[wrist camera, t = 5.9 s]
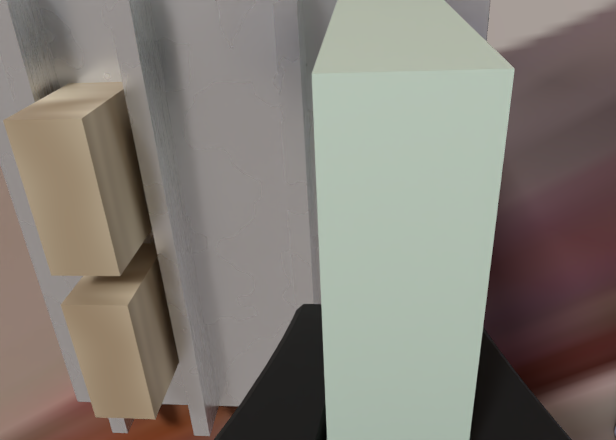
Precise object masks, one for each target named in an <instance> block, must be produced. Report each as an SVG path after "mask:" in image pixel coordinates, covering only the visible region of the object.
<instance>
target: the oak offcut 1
mask: <svg viewBox="0 0 616 440" xmlns="http://www.w3.org/2000/svg"><path fill="white" fill-rule="evenodd" d="M3 122H4V125H5V129H6V132H7V135H8V138H9V141H10V145H11V148H12V151H13V154H14V157H15V161H16V164H17V167H18V170H19V173H20V177H21V180H22V183H23V186H24V189H25V193H26V196H27V199H28V202H29V205H30V209H31V212H32V215H33V218H34V221H35V225H36V228H37V231H38V234H39V237H40V241H41V244H42V247H43V250H44V253H45V256H46V260H47V263H48V266H49V269H50V272H51V276H121V274H122V273H123V271H124V270H125V268H126V267H127V265H128V264H129V262H130V261H131V260H132V258H133V257H134V255H135V254H136V252H137V251H138V249H139V248H140V246H141V245H142V243H143V242H144V240H145V239H146V238H147V236H148V235H149V233H150V232H151V230H152V226H151V221H150V216H149V211H148V206H147V201H146V197H145V192H144V187H143V182H142V177H141V172H140V167H139V162H138V157H137V153H136V148H135V143H134V138H133V133H132V128H131V123H130V118H129V113H128V109H127V104H126V99H125V94H124V89H123V84H122V82H96V83H69V84H67V85H65V86H63V87H62V88H60V89H58V90H56V91H54V92H53V93H51V94H49V95H47V96H45V97H44V98H42V99H40V100H38V101H37V102H35V103H33V104H31V105H29V106H28V107H26V108H24V109H22V110H20V111H19V112H17V113H15V114H13V115H12V116H10V117H8V118H6V119H4V120H3Z"/></svg>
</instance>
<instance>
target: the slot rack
mask: <svg viewBox="0 0 616 440" xmlns="http://www.w3.org/2000/svg"><path fill="white" fill-rule="evenodd" d="M445 1H446V2H447V3H448V4H449V5H450V6H451V7H452V8H453V9H454V10H455V11H456V12H457V13H458V14H459V15H460V16H461V17H462V18H463V19H464V20H465V21H466V22H467V23H468V24H469V25H470V26H471V27H472V28H473V29H474V30H475V31H476V32H477V33H478V34H479V35H480V36H482V37H483V38H484V39H485V40H486V41H487V31H488V20H489V8H490V0H445ZM336 3H337V0H0V165H1V168H2V171H3V174H4V178H5V181H6V184H7V187H8V190H9V193H10V196H11V199H12V202H13V205H14V208H15V211H16V214H17V217H18V220H19V223H20V226H21V229H22V232H23V236H24V239H25V242H26V245H27V248H28V251H29V254H30V257H31V260H32V263H33V266H34V269H35V272H36V275H37V278H38V281H39V284H40V287H41V290H42V294H43V297H44V300H45V303H46V306H47V309H48V312H49V315H50V318H51V321H52V324H53V327H54V330H55V333H56V336H57V339H58V342H59V345H60V349H61V352H62V355H63V358H64V361H65V364H66V367H67V370H68V373H69V376H70V379H71V382H72V385H73V388H74V391H75V394H76V397H77V400H78V401H79V402H91V400H90V397H89V394H88V391H87V388H86V384H85V381H84V378H83V375H82V372H81V368H80V365H79V362H78V359H77V356H76V352H75V349H74V346H73V343H72V340H71V336H70V333H69V330H68V327H67V324H66V320H65V317H64V314H63V311H62V308H61V304H62V302H63V301H64V300H65V298H66V297H67V296H68V295H69V293H70V292H71V291H72V290H73V288H74V287H75V286H76V284H77V283H78V282H79V281H80V279H81V278H82V277H83V276H51V272H50V269H49V266H48V263H47V260H46V256H45V253H44V250H43V247H42V244H41V241H40V237H39V234H38V231H37V228H36V225H35V221H34V218H33V215H32V212H31V209H30V205H29V202H28V199H27V196H26V193H25V189H24V186H23V183H22V180H21V177H20V173H19V170H18V167H17V164H16V161H15V157H14V154H13V151H12V148H11V145H10V141H9V138H8V135H7V132H6V129H5V125H4V122H3V120H4V119H6V118H8V117H10V116H12V115H13V114H15V113H17V112H19V111H20V110H22V109H24V108H26V107H28V106H29V105H31V104H33V103H35V102H37V101H38V100H40V99H42V98H44V97H45V96H47V95H49V94H51V93H53V92H54V91H56V90H58V89H60V88H62V87H63V86H65V85H67V84H69V83H96V82H122V84H123V89H124V94H125V99H126V104H127V109H128V113H129V118H130V123H131V128H132V133H133V138H134V143H135V148H136V153H137V157H138V162H139V167H140V172H141V177H142V182H143V187H144V192H145V197H146V201H147V206H148V211H149V216H150V221H151V226H152V230H151V232H150V233H149V235H148V236H147V238H146V239H145V240H144V242H143V243H155V246H156V250H157V255H158V260H159V265H160V270H161V275H162V280H163V285H164V290H165V294H166V299H167V304H168V309H169V314H170V319H171V324H172V329H173V334H174V338H175V343H176V348H177V353H178V358H179V364H178V366H177V368H176V371H175V373H174V376H173V378H172V380H171V383H170V385H169V388H168V390H167V392H166V395H165V397H164V400H163V402H162V404H178V405H188V407H189V412H190V417H191V422H192V427H193V431H194V435H197V436H210V434H211V431H212V427H213V424H214V420H215V417H216V414H217V410H218V407H219V406H239V405H240V404H241V402H242V401H243V399H244V398H245V396H246V395H247V393H248V392H249V390H250V389H251V387H252V386H253V384H254V383H255V381H256V380H257V378H258V377H259V375H260V374H261V372H262V371H263V369H264V368H265V366H266V364H267V363H268V361H269V359H270V358H271V356H272V354H273V353H274V351H275V349H276V348H277V346H278V344H279V343H280V341H281V339H282V337H283V336H284V334H285V332H286V330H287V328H288V326H289V324H290V322H291V320H292V318H293V316H294V314H295V312H296V310H297V309H298V308H299V307H300V306H302V305H303V304H321V285H320V261H319V237H318V214H317V190H316V166H315V142H314V119H313V95H312V71H313V68H314V65H315V63H316V60H317V57H318V54H319V51H320V48H321V46H322V43H323V40H324V37H325V34H326V31H327V28H328V26H329V23H330V20H331V17H332V14H333V11H334V8H335V6H336ZM133 421H134V419H133V418H109V422H110V425H111V428H112V432H113V433H128V432H129V429H130V427H131V425H132V423H133Z"/></svg>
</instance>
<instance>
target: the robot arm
mask: <svg viewBox="0 0 616 440" xmlns="http://www.w3.org/2000/svg"><path fill="white" fill-rule="evenodd" d="M614 434H615V436H616V427H615V430H614ZM214 440H327V427H326V403H325V379H324V356H323V332H322V308H321V304H303V305H302V306H300V307H299V308H298V309H297V310H296V312H295V314H294V316H293V318H292V320H291V322H290V324H289V326H288V328H287V330H286V332H285V334H284V336H283V337H282V339H281V341H280V343H279V344H278V346H277V348H276V349H275V351H274V353H273V354H272V356H271V358H270V359H269V361H268V363H267V364H266V366H265V368H264V369H263V371H262V372H261V374H260V375H259V377H258V378H257V380H256V381H255V383H254V384H253V386H252V387H251V389H250V390H249V392H248V393H247V395H246V396H245V398H244V399H243V401H242V402H241V404H240V405H239V406H238V408H237V409H236V411H235V412H234V414H233V415H232V416H231V418H230V419H229V420H228V422H227V423H226V424H225V426H224V427H223V428H222V430H221V431H220V432H219V434H218V435H217V436H216V438H215V439H214ZM469 440H571V438H570V437H569V436H568V435H567V434H566V433H565V431H564V430H563V429H562V428H561V427H560V426H559V424H558V423H557V422H556V421H555V420H554V418H553V417H552V416H551V415H550V414H549V412H548V411H547V410H546V409H545V407H544V406H543V405H542V404H541V403H540V401H539V400H538V399H537V398H536V397H535V395H534V394H533V393H532V392H531V390H530V389H529V388H528V387H527V385H526V384H525V383H524V382H523V380H522V379H521V378H520V377H519V375H518V374H517V373H516V371H515V370H514V369H513V367H512V366H511V365H510V363H509V362H508V361H507V359H506V358H505V357H504V355H503V354H502V353H501V351H500V350H499V349H498V347H497V346H496V344H495V343H494V342H493V340H492V339H491V338H490V336H489V335H488V333H487V332H486V330H485V329H484V327H483V332H482V340H481V348H480V357H479V365H478V373H477V381H476V390H475V398H474V406H473V414H472V422H471V431H470V439H469Z"/></svg>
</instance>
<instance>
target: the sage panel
mask: <svg viewBox="0 0 616 440" xmlns="http://www.w3.org/2000/svg"><path fill="white" fill-rule="evenodd" d="M513 77H514V68H513V67H512V66H511V65H510V64H509V63H508V62H507V61H506V60H505V59H504V58H503V57H502V56H501V55H500V54H499V53H498V52H497V51H496V50H495V49H494V48H493V47H492V46H491V45H490V44H489V43H488V42H487V41H486V40H485V39H484V38H483V37H482V36H480V35H479V34H478V33H477V32H476V31H475V30H474V29H473V28H472V27H471V26H470V25H469V24H468V23H467V22H466V21H465V20H464V19H463V18H462V17H461V16H460V15H459V14H458V13H457V12H456V11H455V10H454V9H453V8H452V7H451V6H450V5H449V4H448V3H447V2H446V1H445V0H337V3H336V6H335V8H334V11H333V14H332V17H331V20H330V23H329V26H328V28H327V31H326V34H325V37H324V40H323V43H322V46H321V48H320V51H319V54H318V57H317V60H316V63H315V65H314V68H313V71H312V95H313V119H314V142H315V166H316V190H317V214H318V237H319V261H320V285H321V308H322V332H323V356H324V379H325V403H326V427H327V440H469V439H470V431H471V422H472V414H473V406H474V398H475V390H476V381H477V373H478V365H479V357H480V348H481V340H482V332H483V324H484V316H485V307H486V299H487V291H488V283H489V274H490V266H491V258H492V250H493V242H494V233H495V225H496V217H497V209H498V201H499V192H500V184H501V176H502V168H503V160H504V151H505V143H506V135H507V127H508V118H509V110H510V102H511V94H512V86H513Z"/></svg>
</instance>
